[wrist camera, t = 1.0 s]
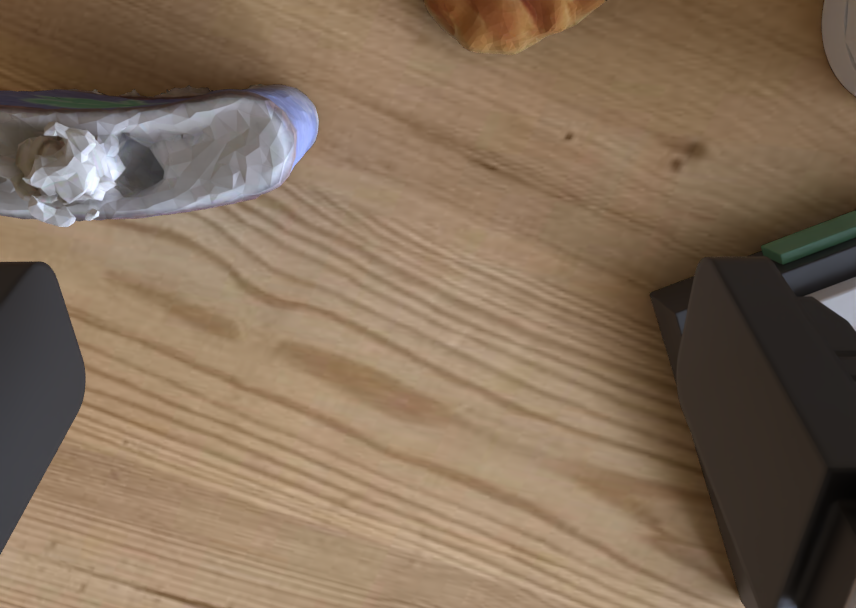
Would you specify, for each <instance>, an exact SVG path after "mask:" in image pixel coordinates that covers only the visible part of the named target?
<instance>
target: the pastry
mask: <svg viewBox="0 0 856 608" xmlns="http://www.w3.org/2000/svg"><path fill="white" fill-rule="evenodd" d="M605 1H607V0H424V3H425V7H426V9H427V11H428V12H429V14H430V15H431V16H432V18H433V19H434V20H435V21H436V22H437V24H438V25H439V26H440V27H441V28H442V29H443V30H444V31H445V32H447V33H448V34H449V35H451V36H452V37H453V38H454V39H456V40H457V41H458V42H459V43H460V44H461V45H462V46H463V47H464V48H466V49H467V50H469V51H472V52H476V53H489V54H506V55H515V54H518V53H520V52H522V51H523V50H525V49H526V48H528V47H530V46H532V45H534V44H536V43H537V42H539V41H540V40H541V39H543V38H544V37H546V36H549V35H552V34H555V33H558V32H562V31H563V30H565V29H568V28H571V27H573V26H575V25H576V24H578V23H579V22H580V21H581V20H583V19H584V18H585V17H586V16H588V15H589V14H590V13H591V12H592V11H593V10H595V9H596V8H598V7H599V6H601V5H602V4H603V3H604V2H605Z"/></svg>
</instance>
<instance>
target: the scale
mask: <svg viewBox="0 0 856 608" xmlns="http://www.w3.org/2000/svg"><path fill="white" fill-rule="evenodd" d="M761 249H762V251H760V252H758V253H755V254H752V255H750V256H747V257H759V256H765V257H768V258H770V259H771V260H772V261H773V263H774V264H775V266H776V267H777V269H778V270H779V271H780V273H781V274H782V276H783V277H784V279H785V280H786V282H787V283H788V285H789V286H790V288H791V289H792V290H793V292H794V293H795V295H796V296H797V297H798V296H812V297H814V298H815V299H817V300H818V301H820V302H821V303H822V304H824V305H825V306H827V307H828V308H830V309H831V310H833V311H834V312H836V313H837V314H838V315H840V316H841V317H843V318H844V319H846V320H847V321H848V322H849V323H850V324H851V326H852V327H853V328H854V330H855V331H856V210H855V211H852V212H850V213H847V214H844V215H842V216H839V217H836V218H834V219H831V220H828V221H826V222H823V223H820V224H818V225H815V226H812V227H810V228H807V229H804V230H802V231H799V232H796V233H794V234H791V235H789V236H786V237H783V238H781V239H778V240H775V241H773V242H770V243H767V244H765V245H762V246H761ZM693 279H694V277H691V278H688V279H686V280H683V281H681V282H678V283H675V284H673V285H670V286H667V287H665V288H662V289H659V290H657V291H654V292H651V293H650V297H651V300H652V304H653V307H654V310H655V314H656V317H657V320H658V324H659V327H660V331H661V334H662V337H663V341H664V344H665V347H666V351H667V354H668V357H669V361H670V364H671V367H672V371H673V374H674V377H675V381H676V384H677V376H676V372H677V359H678V353H679V348H680V344H681V339H682V334H683V329H684V324H685V319H686V314H687V309H688V304H689V299H690V294H691V289H692V284H693ZM692 438H693V437H692ZM693 441H694V439H693ZM694 445H695V442H694ZM695 448H696V451H697V455H698V458H699V461H700V465H701V468H702V471H703V475H704V478H705V481H706V485H707V488H708V491H709V495H710V498H711V501H712V505H713V508H714V512H715V515H716V518H717V522H718V525H719V528H720V532H721V535H722V538H723V542H724V545H725V548H726V552H727V555H728V558H729V562H730V565H731V569H732V572H733V575H734V579H735V582H736V585H737V589H738V592H739V595H740V599H741V602H742V603H743V605H744V606H745V607H746V608H758V605H757V603H756V600H755V597H754V595H753V592H752V590H751V587H750V584H749V582H748V579H747V577H746V574H745V571H744V569H743V566H742V564H741V561H740V559H739V556H738V553H737V551H736V548H735V546H734V543H733V540H732V538H731V535H730V533H729V530H728V527H727V525H726V522H725V520H724V517H723V514H722V512H721V509H720V507H719V504H718V502H717V499H716V496H715V494H714V491H713V489H712V486H711V483H710V481H709V478H708V476H707V473H706V470H705V468H704V465H703V463H702V460H701V458H700V455H699V452H698V450H697V447H696V445H695Z"/></svg>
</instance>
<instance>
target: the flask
mask: <svg viewBox="0 0 856 608" xmlns="http://www.w3.org/2000/svg"><path fill="white" fill-rule="evenodd" d="M318 124H319V118H318V114H317V111H316V107H315V105H314V104H313V103H312V102H311V100H310V99H309V98H308V97H307V96H306V95H305V94H304V93H303V92H301V91H299V90H298V89H297V88H293V87H289V86H286V85H282V84H281V85H268V86H265V85H262V84H259V85H257V86H256V85H251V86H250V87H249V88H248V89H243V90H233V89H225V90H216V91H213V90H212V91H210V90H209V88H198V89H197V88H192V87H191V86H190V85H188V86H187V87H185V88H173V89H171V90H170V91H168V90H167V94H166V93H161V94H160V95H156V96H154V97H146V96H140V95H139V94H138V93H137V92H136V90H135V89H133V91H132V92H129V93H126V94H123V95H119V96H108V95H105V94H103V93H99V92H97V90H96V89H94V91H82V90H77V89H71V90H60V89H54V90H47V91H34V92H31V91H18V92H16V91H0V215H2V216H8V217H14V218H20V219H38V220H40V221H42V222H45V223H49V224H52V225H56V226H59V227H68V226H70V225H71V224H73V223H74V222H75V221H83V220H88V221H90V220H92V219H93V220H104V219H135V218H146V217H152V216H157V215H170V214H176V213H182V212H190V211H196V210H202V209H207V208H213V207H218V206H223V205H228V204H233V203H237V202H241V201H247V200H252V199H256V198H257V197H259V196H260V195H261V194H264V193H267V192H270V191H272V190H274V189H276V188H277V187H279V186H281V184H282V183H283V182H284V181H285V180H286V179H287V178H288V176H289V175H290V173H291V171H292V169H293V167H294V166H295V164H296V163H297V162H298V161H299V160H300V159H301V158H302V157H303V155H304V154H305V153H306V152H307V151H308V150H309V149H310V148H311V147H312V145H313V144H314V143H315V141H316V138H317V134H318Z"/></svg>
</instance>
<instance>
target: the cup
mask: <svg viewBox="0 0 856 608" xmlns="http://www.w3.org/2000/svg"><path fill="white" fill-rule="evenodd" d="M822 37H823V44H824V49H825V53H826V56H827V59H828V62H829V64H830V66H831V68H832V70H833V72H834V74H835V75H836V77H837V78H838V80H839V81H840V82H841V83H842V85H843V86H844V87H845V88H846V89H847V90H848V91H849V92H850V93H852V94H853V95H854V96H856V0H825V1H824V6H823V13H822Z"/></svg>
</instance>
